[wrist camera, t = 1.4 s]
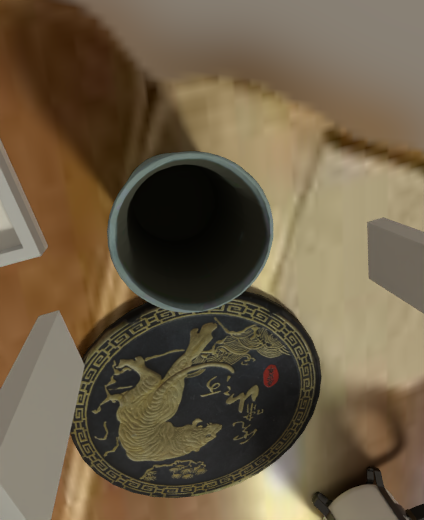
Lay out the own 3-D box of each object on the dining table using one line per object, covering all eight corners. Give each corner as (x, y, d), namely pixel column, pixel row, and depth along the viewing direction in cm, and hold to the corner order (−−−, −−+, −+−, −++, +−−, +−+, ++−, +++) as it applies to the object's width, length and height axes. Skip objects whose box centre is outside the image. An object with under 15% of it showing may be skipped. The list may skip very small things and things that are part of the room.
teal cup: (106, 151, 28) (88, 164, 17) (222, 136, 30) (272, 140, 19) (130, 261, 32) (127, 328, 21) (231, 243, 34) (278, 297, 23)
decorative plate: (346, 289, 37) (301, 482, 47) (336, 282, 39) (296, 469, 49) (52, 296, 30) (75, 517, 41) (57, 287, 32) (78, 502, 43)
